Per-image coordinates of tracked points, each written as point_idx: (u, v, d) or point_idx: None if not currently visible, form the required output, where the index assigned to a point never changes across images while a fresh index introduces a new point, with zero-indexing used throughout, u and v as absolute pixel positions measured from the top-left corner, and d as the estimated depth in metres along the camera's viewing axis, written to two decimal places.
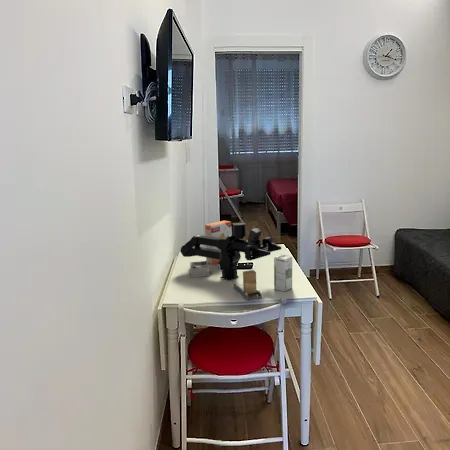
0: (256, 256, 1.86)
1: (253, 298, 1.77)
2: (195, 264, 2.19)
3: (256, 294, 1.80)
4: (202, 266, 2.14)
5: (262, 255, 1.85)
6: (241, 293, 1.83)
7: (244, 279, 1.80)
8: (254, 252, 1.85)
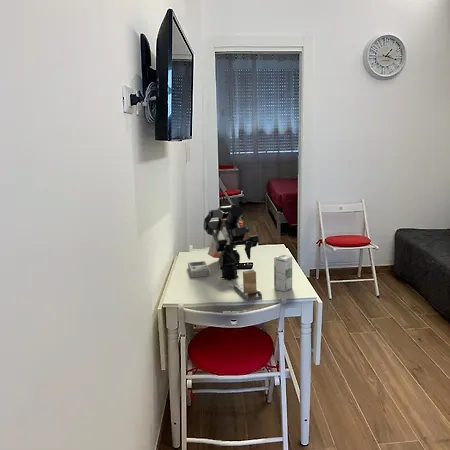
0: (228, 252, 1.88)
1: (253, 298, 1.77)
2: (193, 264, 2.19)
3: (256, 294, 1.80)
4: (202, 266, 2.14)
5: (231, 256, 1.87)
6: (241, 293, 1.83)
7: (244, 279, 1.80)
8: (227, 248, 1.87)
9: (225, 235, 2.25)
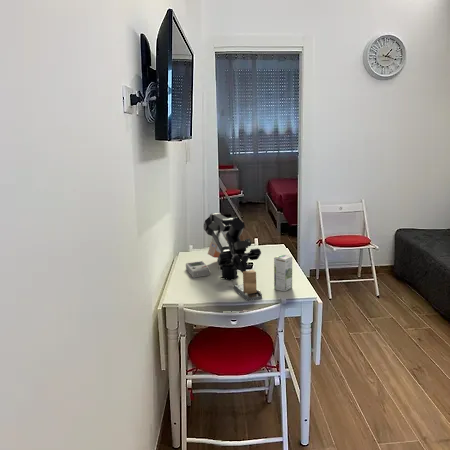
0: (235, 264, 1.89)
1: (253, 298, 1.77)
2: (192, 265, 2.18)
3: (256, 294, 1.80)
4: (201, 266, 2.14)
5: (239, 268, 1.87)
6: (241, 293, 1.83)
7: (244, 279, 1.80)
8: (235, 261, 1.88)
9: (225, 235, 2.25)
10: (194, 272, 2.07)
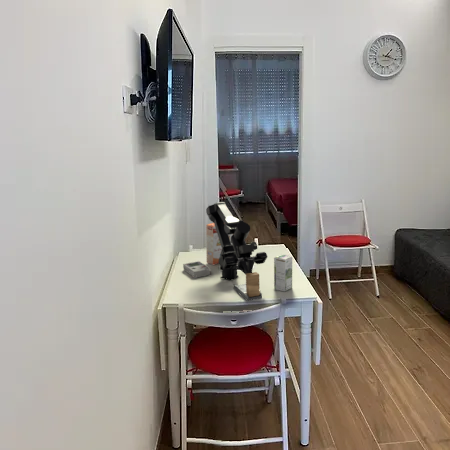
0: (241, 268, 1.83)
1: (253, 298, 1.77)
2: (190, 265, 2.17)
3: None
4: (200, 266, 2.14)
5: (244, 273, 1.81)
6: (241, 293, 1.83)
7: (247, 281, 1.77)
8: (240, 265, 1.82)
9: (218, 240, 2.24)
10: (195, 272, 2.07)
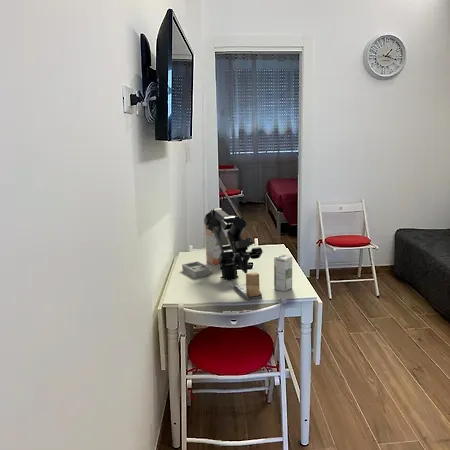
0: (237, 263, 1.87)
1: (253, 298, 1.77)
2: (189, 265, 2.17)
3: None
4: (200, 266, 2.14)
5: (240, 267, 1.86)
6: (241, 293, 1.83)
7: (247, 281, 1.77)
8: (236, 260, 1.86)
9: None
10: (196, 272, 2.07)
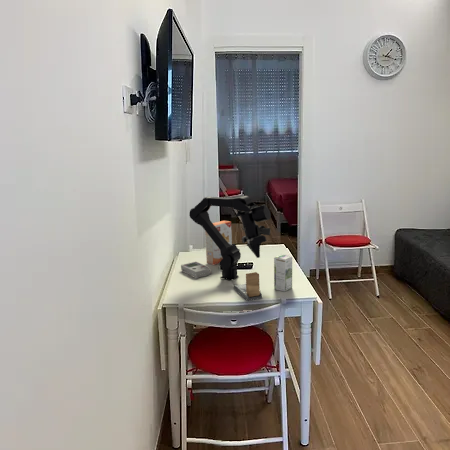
0: (252, 246, 1.92)
1: (253, 298, 1.77)
2: (188, 266, 2.17)
3: None
4: (200, 266, 2.14)
5: (255, 251, 1.93)
6: (241, 293, 1.83)
7: (247, 281, 1.77)
8: (256, 244, 1.92)
9: None
10: (197, 272, 2.07)
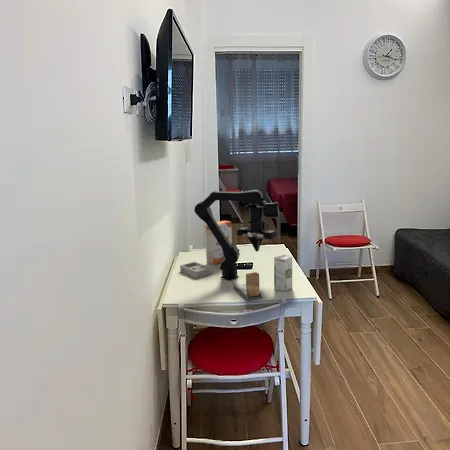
0: (258, 240, 1.96)
1: (253, 298, 1.77)
2: (188, 266, 2.16)
3: None
4: (199, 266, 2.14)
5: (258, 245, 1.98)
6: (241, 293, 1.83)
7: (247, 281, 1.77)
8: None
9: None
10: (198, 272, 2.07)
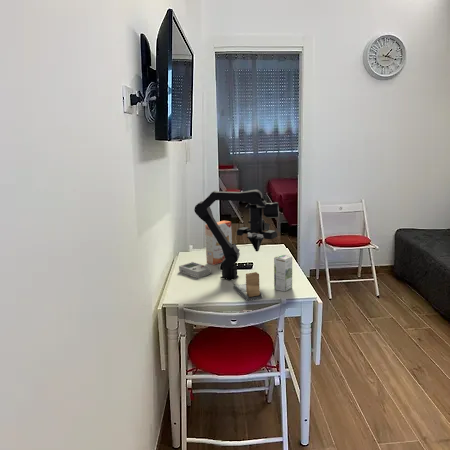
0: (258, 240, 1.96)
1: (253, 298, 1.77)
2: (187, 266, 2.16)
3: None
4: (199, 266, 2.14)
5: (258, 245, 1.98)
6: (241, 293, 1.83)
7: (247, 281, 1.77)
8: None
9: None
10: (198, 272, 2.06)
